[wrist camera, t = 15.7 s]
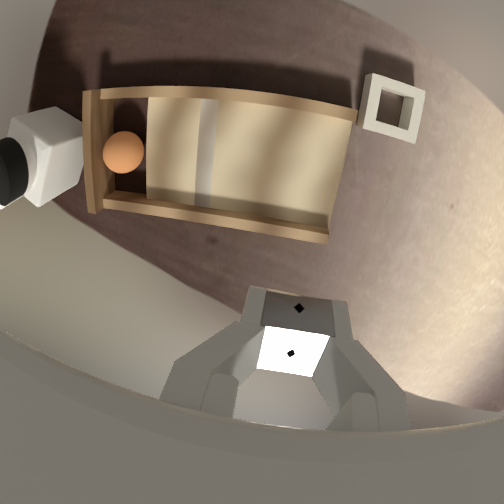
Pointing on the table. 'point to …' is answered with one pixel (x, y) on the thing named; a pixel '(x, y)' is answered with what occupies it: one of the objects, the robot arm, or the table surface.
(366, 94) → the square ring
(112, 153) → the ball
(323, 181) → the lane
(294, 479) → the robot arm
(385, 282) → the table surface
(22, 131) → the medicine bottle
